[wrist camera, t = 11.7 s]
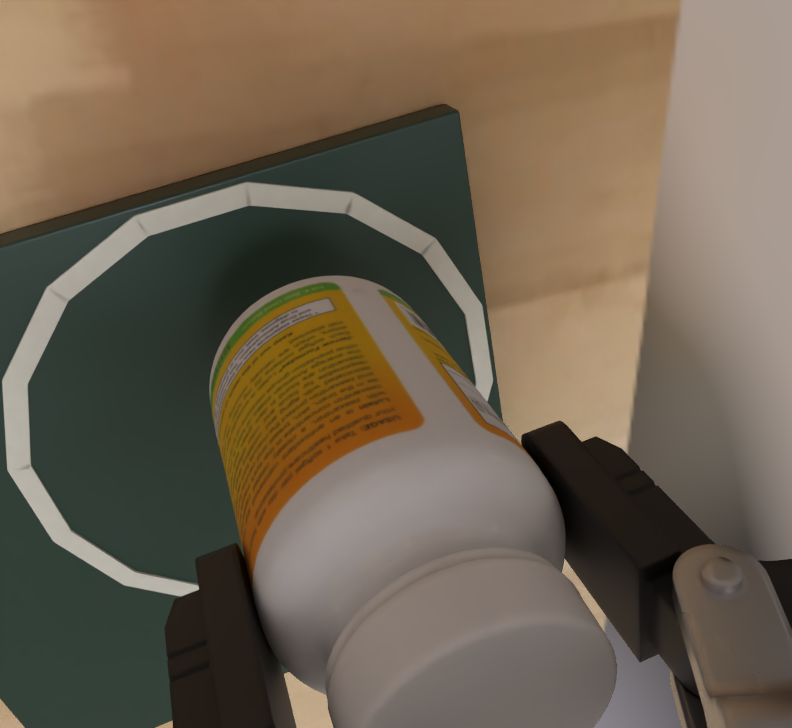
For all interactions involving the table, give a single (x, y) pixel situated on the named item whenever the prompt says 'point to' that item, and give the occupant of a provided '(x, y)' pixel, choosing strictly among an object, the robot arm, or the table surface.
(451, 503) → the supplement bottle
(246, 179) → the chalkboard
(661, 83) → the table surface
